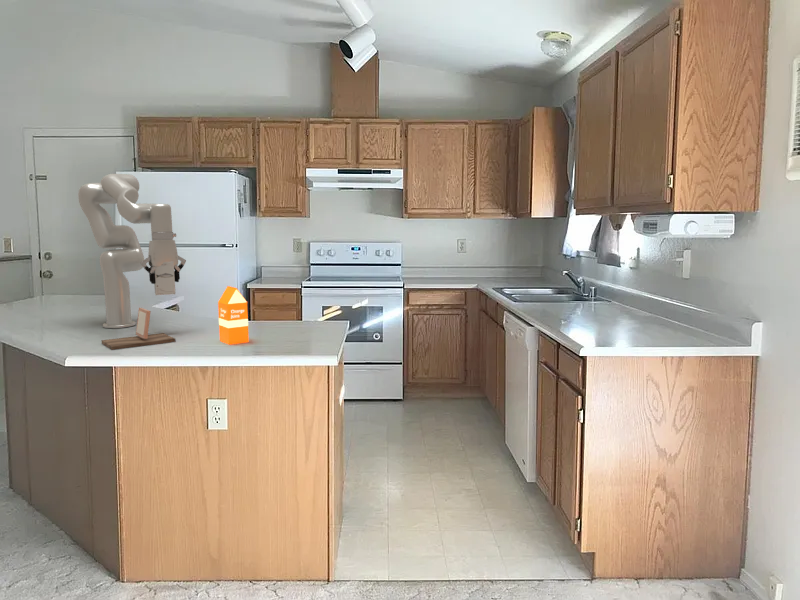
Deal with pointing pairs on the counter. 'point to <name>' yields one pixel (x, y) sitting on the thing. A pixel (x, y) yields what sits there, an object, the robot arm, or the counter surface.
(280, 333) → the counter surface
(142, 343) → the board
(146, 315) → the tile
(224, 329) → the orange juice
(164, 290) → the supplement box
